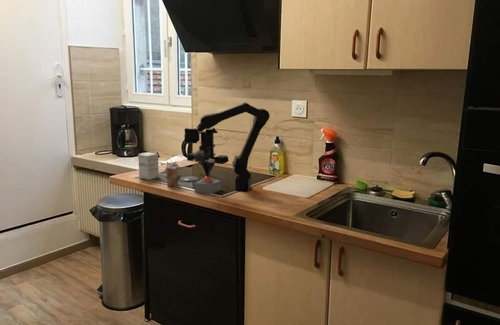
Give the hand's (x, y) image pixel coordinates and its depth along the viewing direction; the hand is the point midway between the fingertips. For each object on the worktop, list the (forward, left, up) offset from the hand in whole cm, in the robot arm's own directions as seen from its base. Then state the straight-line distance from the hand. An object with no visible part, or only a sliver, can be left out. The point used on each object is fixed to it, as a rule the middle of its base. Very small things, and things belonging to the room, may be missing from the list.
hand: (207, 176), depth 190 cm
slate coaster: (+19, -14, -7) cm, 25 cm away
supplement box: (+40, -9, -7) cm, 42 cm away
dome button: (0, 0, -6) cm, 6 cm away
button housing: (0, 0, -7) cm, 7 cm away
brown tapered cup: (+20, -1, -7) cm, 21 cm away
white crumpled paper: (+30, -16, -7) cm, 35 cm away
